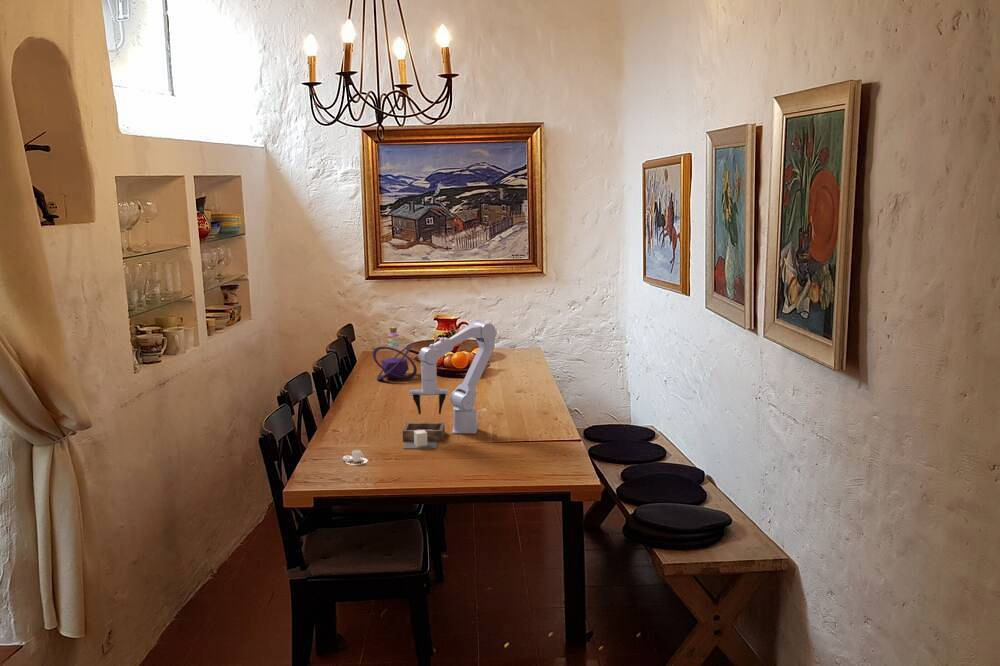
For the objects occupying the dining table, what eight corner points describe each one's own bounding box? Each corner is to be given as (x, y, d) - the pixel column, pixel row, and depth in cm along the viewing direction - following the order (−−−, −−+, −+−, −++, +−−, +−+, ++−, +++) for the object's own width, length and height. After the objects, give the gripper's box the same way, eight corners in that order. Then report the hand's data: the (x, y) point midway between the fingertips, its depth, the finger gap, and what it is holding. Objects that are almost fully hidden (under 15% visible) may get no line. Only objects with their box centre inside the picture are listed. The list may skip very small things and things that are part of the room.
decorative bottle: (372, 373, 456) (370, 324, 451) (414, 371, 460) (413, 322, 455) (374, 384, 434) (372, 332, 429) (418, 381, 438) (417, 330, 433)
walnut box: (444, 432, 357) (444, 422, 356) (442, 441, 346) (442, 430, 345) (406, 432, 357) (406, 422, 356) (402, 441, 346) (402, 431, 346)
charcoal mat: (437, 442, 344) (437, 441, 344) (435, 449, 337) (435, 448, 337) (406, 442, 345) (406, 441, 345) (403, 449, 337) (403, 448, 337)
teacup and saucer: (339, 462, 324) (339, 451, 324) (357, 456, 330) (357, 446, 329) (353, 467, 318) (353, 456, 318) (372, 462, 324) (372, 451, 323)
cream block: (424, 442, 343) (424, 429, 342) (427, 445, 340) (427, 432, 339) (414, 443, 342) (413, 430, 341) (417, 446, 338) (416, 433, 337)
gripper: (448, 376, 351) (449, 410, 353) (410, 376, 350) (411, 411, 353) (448, 380, 344) (448, 415, 346) (409, 381, 343) (410, 416, 346)
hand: (429, 413), depth 349 cm, fingers open, 7 cm apart
